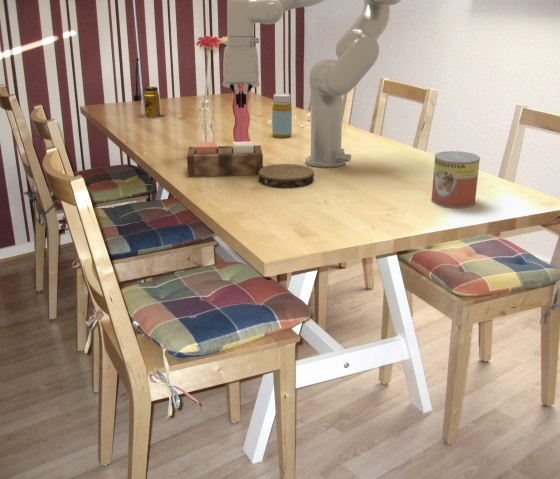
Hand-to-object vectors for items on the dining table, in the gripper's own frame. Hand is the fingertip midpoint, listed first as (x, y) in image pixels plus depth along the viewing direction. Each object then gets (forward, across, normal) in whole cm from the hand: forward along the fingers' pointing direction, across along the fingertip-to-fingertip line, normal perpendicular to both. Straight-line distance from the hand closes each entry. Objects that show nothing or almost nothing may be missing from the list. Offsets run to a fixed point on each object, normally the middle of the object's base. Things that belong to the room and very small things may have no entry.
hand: (241, 107), depth 204 cm
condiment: (+20, +34, -87) cm, 95 cm away
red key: (+16, +10, 0) cm, 19 cm away
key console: (+19, +5, 0) cm, 20 cm away
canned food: (+19, -54, +35) cm, 67 cm away
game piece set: (+19, -22, -68) cm, 74 cm away
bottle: (+19, -16, -45) cm, 52 cm away
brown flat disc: (+19, -13, +12) cm, 26 cm away
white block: (+16, -1, 0) cm, 16 cm away
